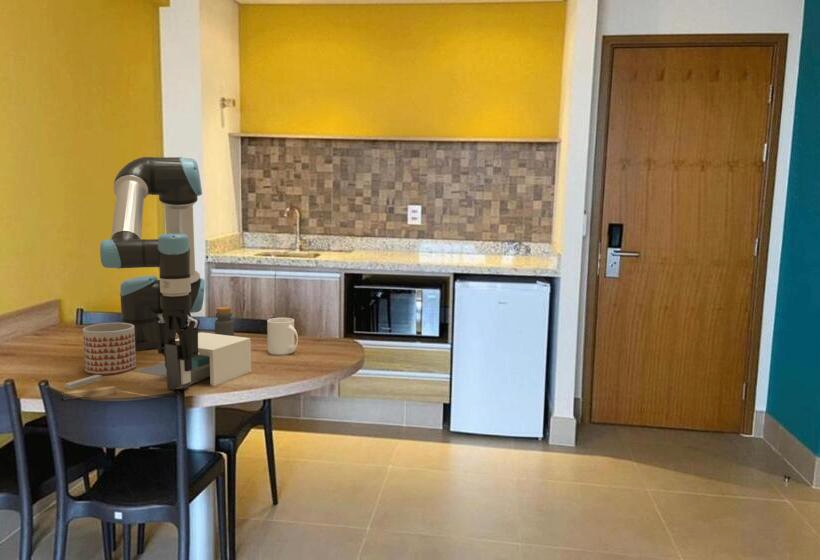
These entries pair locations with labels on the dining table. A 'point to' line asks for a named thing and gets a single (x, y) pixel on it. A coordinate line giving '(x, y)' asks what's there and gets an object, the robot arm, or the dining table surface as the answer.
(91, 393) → the oak batten
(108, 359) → the planter
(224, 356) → the cubby
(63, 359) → the dining table surface
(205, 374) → the dark grey l-shaped block
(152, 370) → the mat
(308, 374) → the dining table surface
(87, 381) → the grey stick
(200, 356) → the block
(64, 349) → the dining table surface
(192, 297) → the robot arm
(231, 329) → the bottle
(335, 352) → the dining table surface
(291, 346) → the mug
